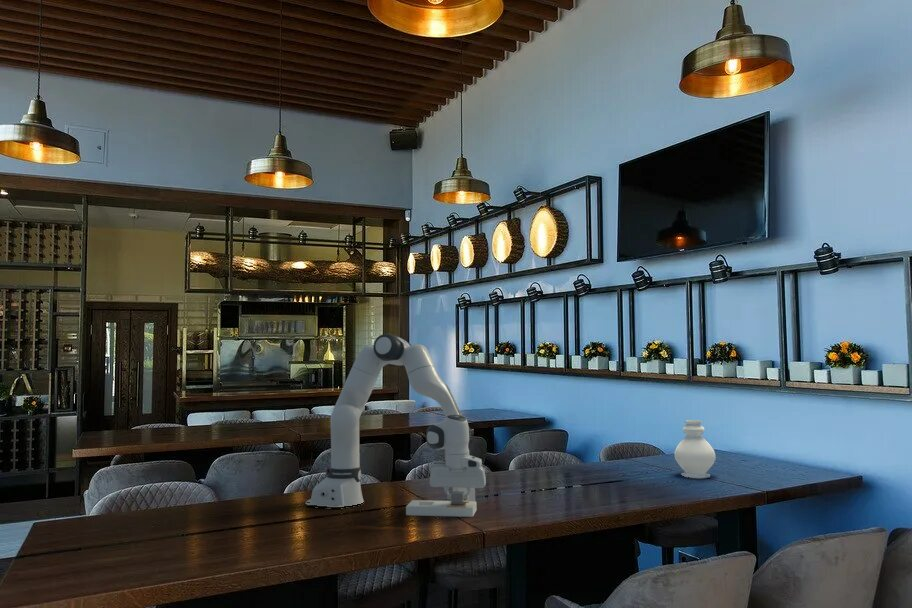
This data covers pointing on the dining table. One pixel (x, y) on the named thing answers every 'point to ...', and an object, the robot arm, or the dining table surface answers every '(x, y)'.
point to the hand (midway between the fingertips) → (457, 499)
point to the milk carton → (471, 495)
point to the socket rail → (441, 508)
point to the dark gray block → (457, 498)
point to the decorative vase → (694, 451)
